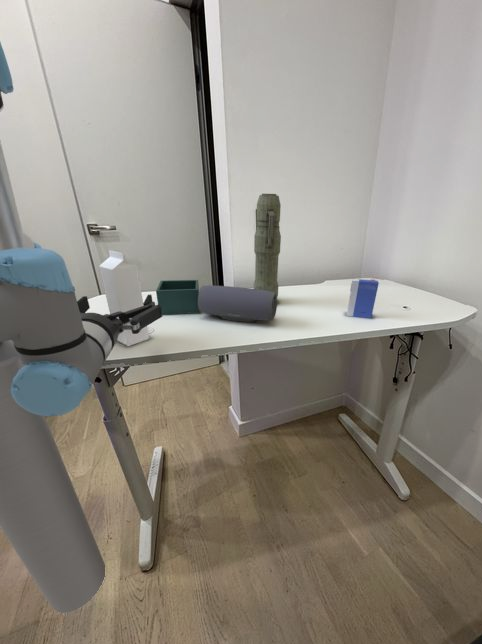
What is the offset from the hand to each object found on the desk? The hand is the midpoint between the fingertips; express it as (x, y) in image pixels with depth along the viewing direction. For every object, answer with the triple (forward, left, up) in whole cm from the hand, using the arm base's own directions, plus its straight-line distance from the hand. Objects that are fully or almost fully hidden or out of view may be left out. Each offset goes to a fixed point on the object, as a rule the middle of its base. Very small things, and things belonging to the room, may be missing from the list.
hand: (119, 301), depth 66 cm
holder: (+11, +29, -12) cm, 33 cm away
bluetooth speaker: (+29, +16, -12) cm, 35 cm away
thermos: (+41, +32, -12) cm, 53 cm away
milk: (0, +5, -12) cm, 13 cm away
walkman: (+69, +14, -12) cm, 71 cm away
